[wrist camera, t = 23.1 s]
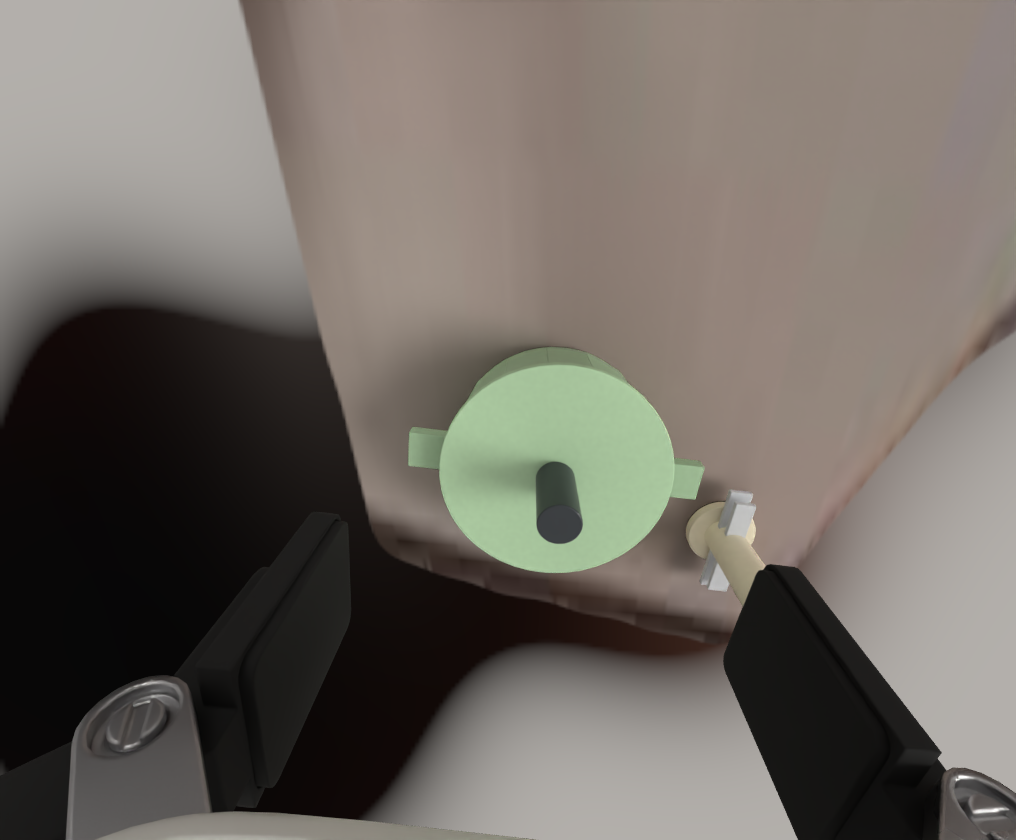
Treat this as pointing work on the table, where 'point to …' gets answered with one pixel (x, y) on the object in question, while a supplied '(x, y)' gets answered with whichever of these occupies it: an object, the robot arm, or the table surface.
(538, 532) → the lid
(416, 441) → the pot
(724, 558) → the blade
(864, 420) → the table surface
